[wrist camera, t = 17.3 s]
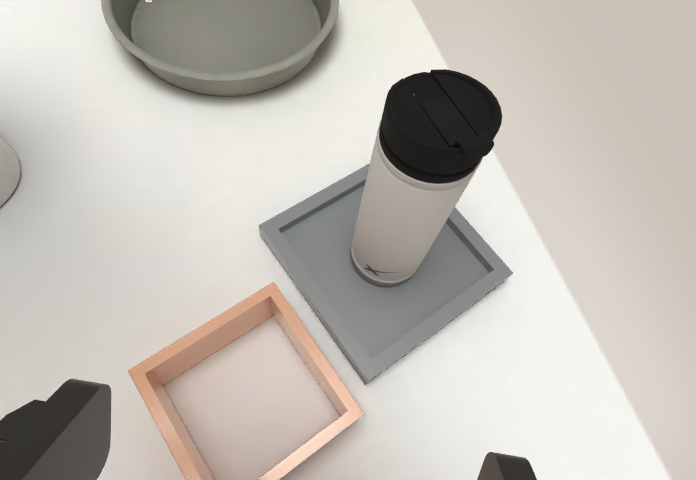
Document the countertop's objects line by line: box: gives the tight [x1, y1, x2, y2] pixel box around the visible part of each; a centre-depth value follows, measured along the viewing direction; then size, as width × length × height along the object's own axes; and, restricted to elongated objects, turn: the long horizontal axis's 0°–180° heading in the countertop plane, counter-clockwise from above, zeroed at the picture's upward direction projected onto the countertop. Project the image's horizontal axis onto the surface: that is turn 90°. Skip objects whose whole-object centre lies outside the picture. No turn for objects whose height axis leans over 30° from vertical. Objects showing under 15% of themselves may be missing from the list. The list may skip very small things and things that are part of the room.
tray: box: [259, 164, 513, 384], centre depth 43 cm, size 16×16×2 cm
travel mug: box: [350, 70, 502, 287], centre depth 34 cm, size 6×7×20 cm
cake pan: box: [101, 0, 339, 96], centre depth 53 cm, size 25×25×4 cm
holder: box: [128, 282, 364, 480], centre depth 35 cm, size 12×12×5 cm
